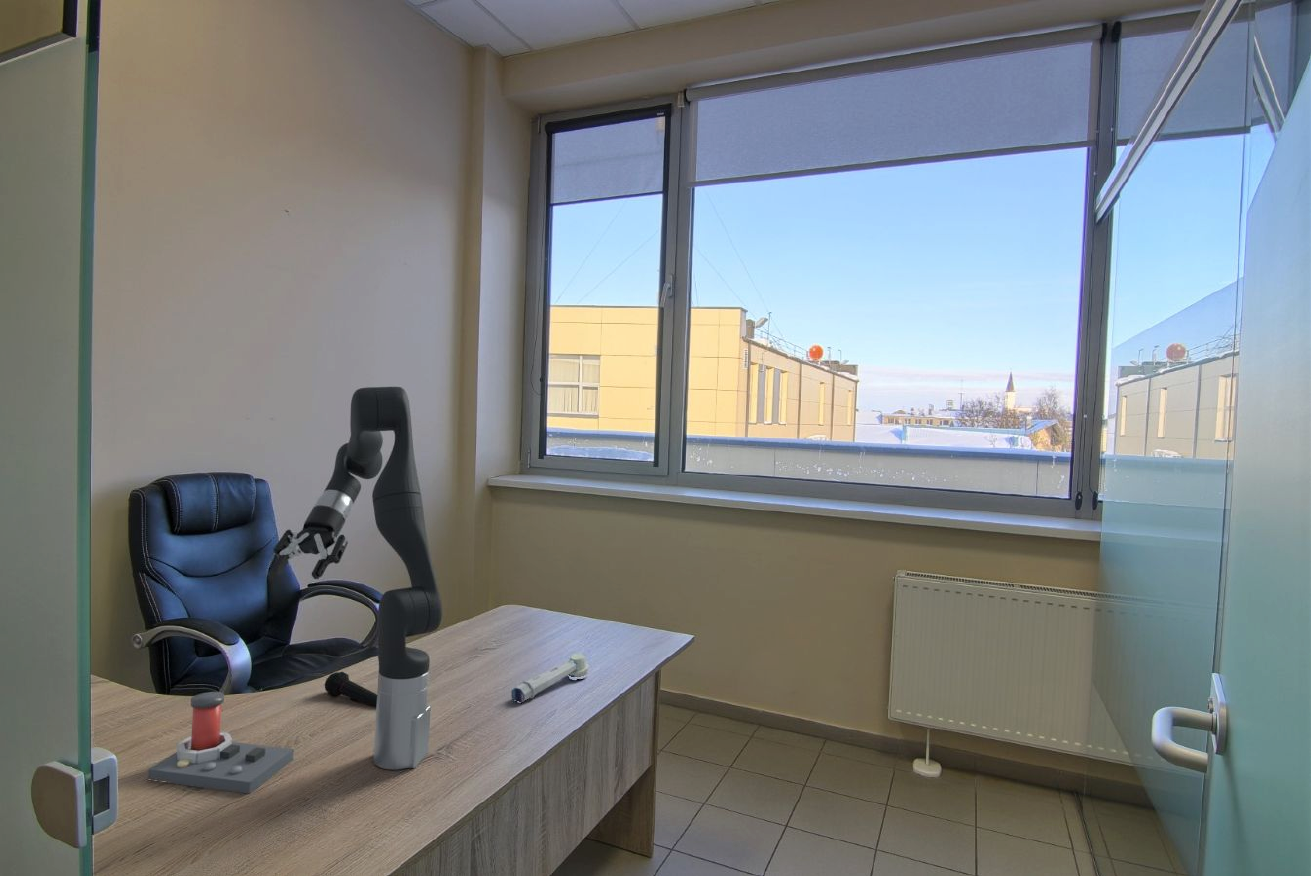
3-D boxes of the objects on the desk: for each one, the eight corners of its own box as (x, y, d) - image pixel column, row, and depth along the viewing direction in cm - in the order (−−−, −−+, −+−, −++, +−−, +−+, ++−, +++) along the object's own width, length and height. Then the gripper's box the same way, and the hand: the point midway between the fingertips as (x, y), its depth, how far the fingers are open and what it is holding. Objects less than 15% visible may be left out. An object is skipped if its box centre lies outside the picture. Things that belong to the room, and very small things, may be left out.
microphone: (398, 721, 156) (332, 692, 163) (408, 695, 157) (341, 667, 164) (383, 723, 151) (315, 693, 158) (393, 696, 152) (325, 668, 159)
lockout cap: (227, 745, 130) (230, 693, 130) (208, 758, 125) (211, 703, 124) (201, 743, 130) (204, 691, 130) (181, 756, 125) (183, 701, 125)
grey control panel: (292, 759, 130) (294, 739, 130) (249, 793, 118) (250, 771, 118) (199, 748, 132) (200, 728, 132) (147, 780, 120) (148, 759, 120)
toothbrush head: (508, 684, 164) (577, 645, 184) (509, 710, 165) (577, 669, 185) (524, 690, 161) (592, 650, 181) (525, 717, 162) (593, 674, 182)
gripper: (293, 501, 155) (256, 562, 144) (353, 506, 154) (320, 568, 143) (306, 521, 161) (271, 581, 149) (364, 527, 159) (333, 588, 148)
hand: (295, 575), depth 146 cm, fingers open, 8 cm apart
